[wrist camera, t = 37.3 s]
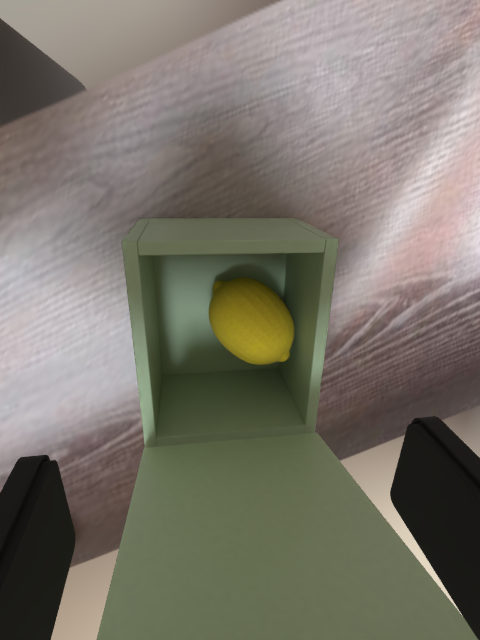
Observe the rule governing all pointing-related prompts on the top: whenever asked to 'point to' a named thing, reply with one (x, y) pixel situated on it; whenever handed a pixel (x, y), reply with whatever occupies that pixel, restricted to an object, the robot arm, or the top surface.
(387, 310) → the top surface
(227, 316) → the lemon
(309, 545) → the lid
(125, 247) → the chest
